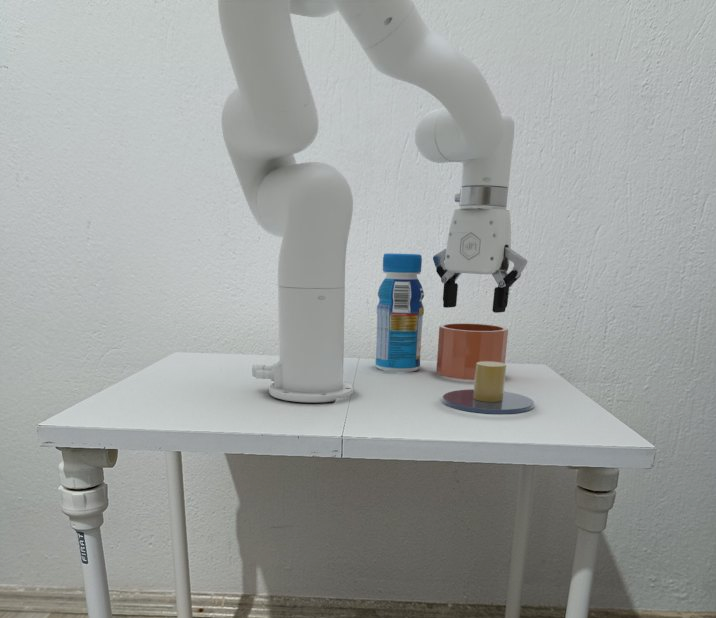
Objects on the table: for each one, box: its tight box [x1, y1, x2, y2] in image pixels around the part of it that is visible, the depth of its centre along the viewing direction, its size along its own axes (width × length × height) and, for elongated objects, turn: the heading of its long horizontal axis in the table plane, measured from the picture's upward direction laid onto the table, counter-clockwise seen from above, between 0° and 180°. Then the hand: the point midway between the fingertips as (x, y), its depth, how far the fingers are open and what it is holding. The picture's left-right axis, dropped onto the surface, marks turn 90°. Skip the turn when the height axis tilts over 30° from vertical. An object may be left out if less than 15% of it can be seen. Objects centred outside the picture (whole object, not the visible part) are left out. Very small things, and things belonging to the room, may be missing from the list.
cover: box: [441, 361, 535, 415], centre depth 94 cm, size 13×13×6 cm
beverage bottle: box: [375, 252, 425, 373], centre depth 118 cm, size 8×8×20 cm
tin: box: [435, 322, 509, 381], centre depth 115 cm, size 12×12×8 cm
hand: (473, 309), depth 112 cm, fingers open, 9 cm apart
